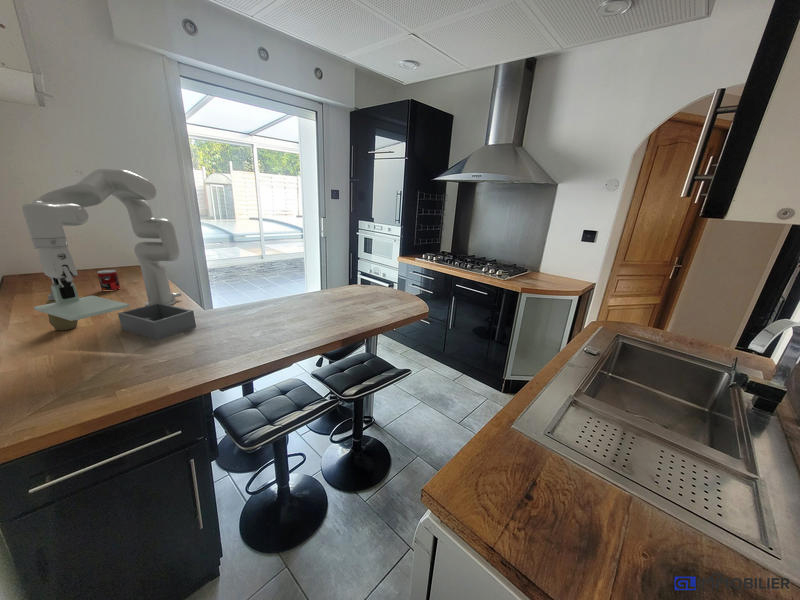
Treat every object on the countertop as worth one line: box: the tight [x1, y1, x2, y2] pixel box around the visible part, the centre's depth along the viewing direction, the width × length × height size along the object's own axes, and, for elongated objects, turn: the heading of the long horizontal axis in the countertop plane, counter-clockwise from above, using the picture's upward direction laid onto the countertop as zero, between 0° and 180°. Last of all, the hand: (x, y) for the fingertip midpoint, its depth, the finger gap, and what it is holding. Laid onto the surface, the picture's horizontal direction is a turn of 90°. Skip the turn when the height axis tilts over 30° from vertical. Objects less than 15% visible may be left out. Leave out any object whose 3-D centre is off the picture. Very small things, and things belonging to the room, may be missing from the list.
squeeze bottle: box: [45, 284, 79, 332], centre depth 122 cm, size 8×8×18 cm
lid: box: [33, 282, 130, 321], centre depth 102 cm, size 15×22×8 cm
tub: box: [117, 303, 197, 341], centre depth 125 cm, size 15×22×8 cm
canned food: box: [96, 269, 121, 291], centre depth 175 cm, size 8×8×11 cm
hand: (66, 296), depth 105 cm, fingers closed on lid
